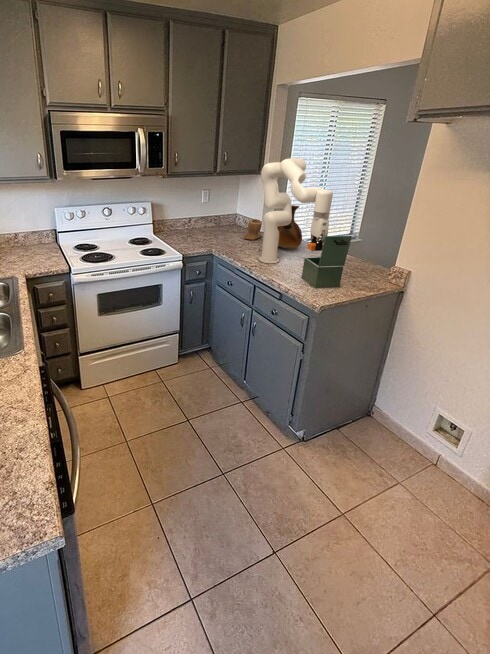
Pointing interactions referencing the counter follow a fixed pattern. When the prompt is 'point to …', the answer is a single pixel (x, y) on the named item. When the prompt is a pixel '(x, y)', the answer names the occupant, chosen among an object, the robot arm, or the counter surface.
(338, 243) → the hinged box lid
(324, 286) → the green open box
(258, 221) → the stone cup
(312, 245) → the block
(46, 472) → the counter surface
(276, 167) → the robot arm
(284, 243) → the ceramic pitcher
